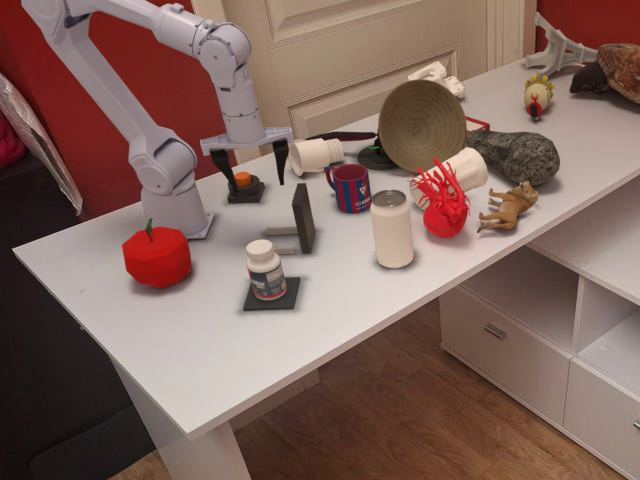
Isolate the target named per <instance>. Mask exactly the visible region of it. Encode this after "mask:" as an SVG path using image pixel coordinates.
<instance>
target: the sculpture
mask: <svg viewBox="0 0 640 480" xmlns="http://www.w3.org/2000/svg"><path fill="white" fill-rule="evenodd" d="M597 50H598V53H597V58H596V60H595V61H594V62H589V63H587V64H586V65H584V66H583V67H582V68H581V69H579V70H578V71H576V72H575V73H574V75H573V76H572V79H571V84H570V86H569V89H568V92H569V93H570V94H574V95H576V94H577V95H578V94H581V93H596V94H600V93H602V92H609V91H611V90H612V89H613V90H615V91H617V92H618V93H619V94H621V95H622V96H624V97H625V98H626V99H628V100H630V101H632V102H633V103H636V104H640V45H638V44H635V43H634V44H633V43H627V42H621V43H605V44H601V45H600V46H598V49H597Z"/></svg>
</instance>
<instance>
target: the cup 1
mask: <svg viewBox="0 0 640 480" xmlns="http://www.w3.org/2000/svg"><path fill="white" fill-rule="evenodd" d="M331 171H332V172H331ZM324 172H325V173H324V174H325V178H326V181H327V184H328V185H329V187H330V188H331V189H332V191H334V194H335V201H336V206H337V208H338V209H339V210H340V211H341V212H343V213H346V214H347V213H348V214H357V213H362V212H365V211H366V210H368V209H370V208H371V204H372V191H371V183H370V175H369V168H368V167H365V166H363V165H361V164H360V163H346V164H342V165H339V166H337V167H336V166H332V165H329V166H328V167H326V168H325V171H324ZM331 176H332V177H331Z"/></svg>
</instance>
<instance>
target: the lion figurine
mask: <svg viewBox="0 0 640 480" xmlns="http://www.w3.org/2000/svg"><path fill="white" fill-rule="evenodd" d="M488 196H490V197H488V200H487V204H488V205H490V206H493V207H496V208H499V209H498V211H495V212H493V213H490V214H487V215H485V214H484V213H483V212H481V211H479V213H478V220H479V224H483V225H481V226H479V227H478V228H477V230H476V234H479V233H480V232H482V231H483V230H484V229H486V228H499V229H501V230H512V229H514V227H516V226H517V223H518V215H519V214H522V213H525V212H527V211H528V210H530V209H531V208H533V206H534V205H535V204H536V202H537V201H538V200H539V192H538V191H537V190H535V189H534V187H532V186H531V185H530V182H529V181H528V182H527V181H526V182H524V183H522V182H521V183H520V185H519V186H515V187H514V188H513V189H509V190H507V191H506V192H495V191H494V189H493V188H491V187H490V188H489V191H488ZM493 198H497V199H502V201H497V200H495V199H493Z"/></svg>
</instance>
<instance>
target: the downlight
mask: <svg viewBox="0 0 640 480" xmlns="http://www.w3.org/2000/svg"><path fill="white" fill-rule="evenodd" d="M288 146H289V154H288V160H289V163H290V166H291V168H292V170H293V172H294V173H295V175H296V176H298V177H301V176H302V175H303V173H321V172H325V171H324V170H325V169H326V168H328V167H329V166H330V164H334V163H339V162H343V160H344V157H345V156H344V148H343V145H342V143H341V141H339V140H338V139H332V140H326V141H324V140H323V139H321V138H319V139H314V140H305V139H294V143H288Z"/></svg>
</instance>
